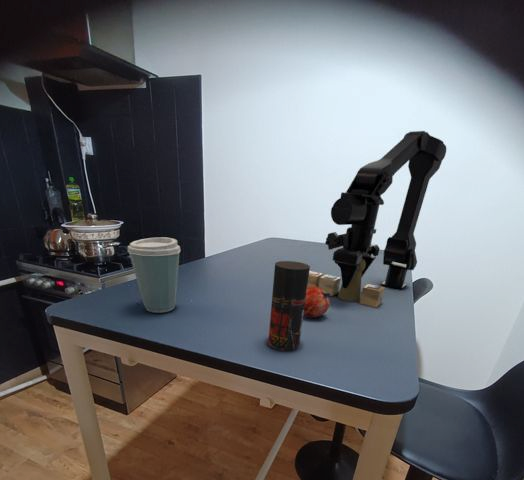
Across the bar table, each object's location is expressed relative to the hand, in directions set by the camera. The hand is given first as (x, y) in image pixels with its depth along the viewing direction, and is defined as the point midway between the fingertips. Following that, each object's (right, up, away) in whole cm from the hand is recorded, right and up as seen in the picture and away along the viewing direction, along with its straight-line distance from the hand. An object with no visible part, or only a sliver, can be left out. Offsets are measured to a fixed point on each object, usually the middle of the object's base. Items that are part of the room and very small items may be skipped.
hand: (351, 284), depth 87 cm
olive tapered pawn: (0, -4, +2) cm, 4 cm away
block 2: (-5, -1, +5) cm, 7 cm away
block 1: (-10, 0, +7) cm, 12 cm away
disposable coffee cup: (-48, -9, -14) cm, 51 cm away
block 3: (+5, -5, -1) cm, 7 cm away
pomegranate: (-13, -10, -12) cm, 20 cm away
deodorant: (-20, -17, -26) cm, 37 cm away
